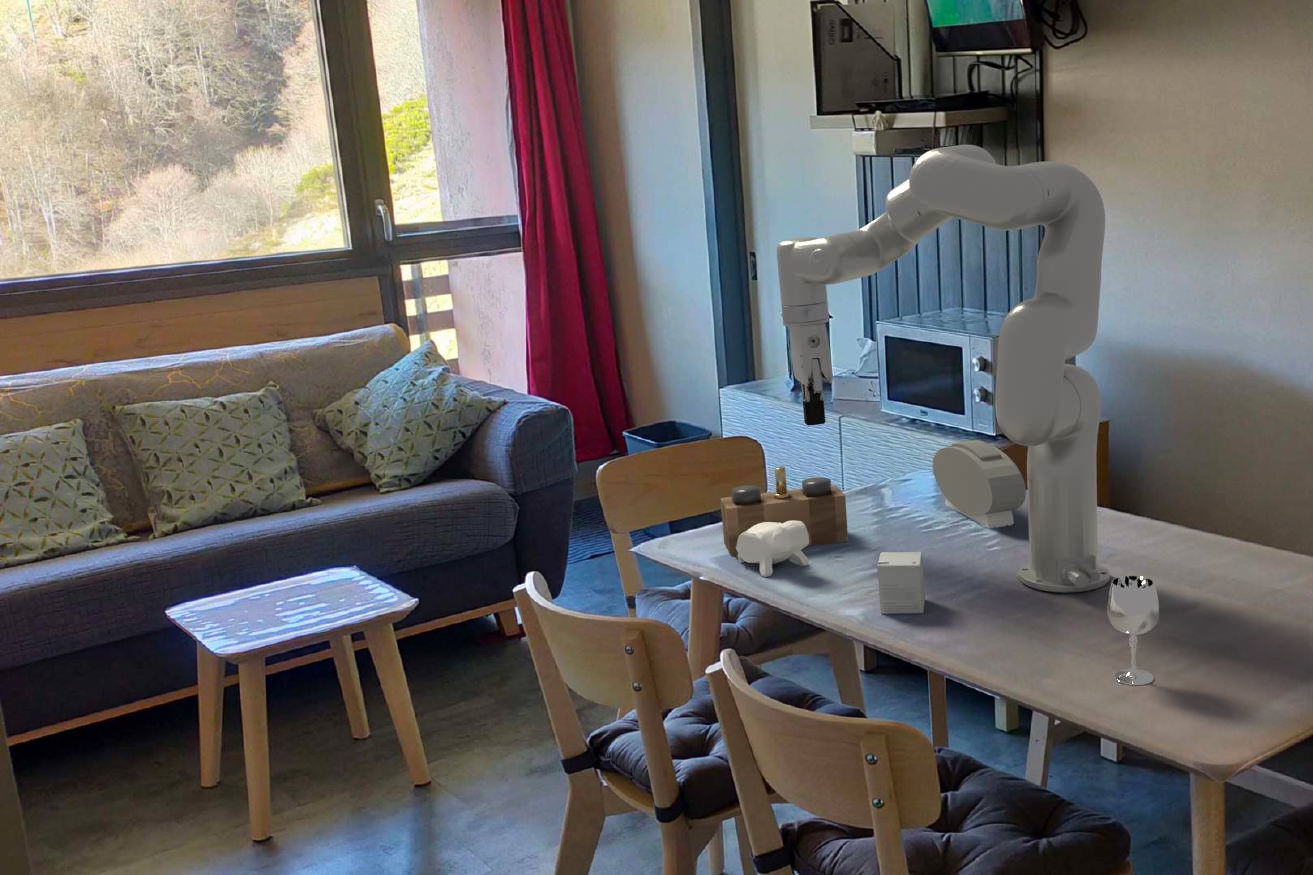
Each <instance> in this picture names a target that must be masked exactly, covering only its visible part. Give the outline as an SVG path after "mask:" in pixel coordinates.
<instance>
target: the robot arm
mask: <svg viewBox="0 0 1313 875" xmlns="http://www.w3.org/2000/svg"><path fill="white" fill-rule="evenodd" d="M884 207H885V212H884V213H883V214H881V215H880V216H879V217H877V218H876V219H874V220H873V221H871V222H869V223H868V224H866V225H865V226H863V227H861V228H860V229H858V230H854V231H847V232H842V233H837V234H833V235H829V236H824V237H819V238H818V237H814V236H813V237H812V236H811V237H810V236H809V237H808V236H806V237H795V238H789V239H786V240H782V241H780V242H779V243H778V245H777V246H776V260H777V272H778V273H777V274H778V280H779V281H778V284H779V295H780V303H781V316H782V325H783V326H785V327H789V338H790V339H789V340H790V354H791V362H792V371H793V372H792V373H793V376H794V378H795V380H797V381H798V382H800V386H801V393H802V407H803V419H804V421H803V422H804V424H805V425H806V426H808V427H810V426H811V427H812V426H817V425H824V424H825V423H826V412H825V403H824V401H825V400H824V391H823V390H824V389H823V387H824V386H823V381H824V382H826V383H829V384H831V383H833V380H834V375H833V367H832V358H831V349H830V343H829V336H828V331H827V326H826V323H828V322H830V315H829V314H830V313H829V303H828V293H827V292H828V291H827V285H836V284H840V283H845V282H848V281H852V280H856V279H861V278H865V277H870V276H871V275H873V274H876V273H878V272H879V271H881V270H883V269H885V268H886V267H888V266H890V265H891V264H893V263H895V261H897V260H899V259H901V258H902V257H903V256H905V255H906V254H908V253H909V252H910V251H911V250H913V249H914V247H916V246H917V244H918V243H920V241H921V240H922V239H923V238H924V237H926V236H927V235H928V234H930V233H932V232H933V231H935V230H937V229H938V228H940V227H942V226H943V225H945V224H947V223H948V222H950V221H951V220H953V219H957V220H962V221H965V222H970V223H971V224H972V223H973V224H976V225H979V226H983V227H986V228H990V229H995V230H998V231H1017V230H1023V229H1027V228H1032V227H1036V226H1039V225H1042V226H1043V228H1044V235H1043V236H1044V237H1043V239H1042V243H1041V246H1040V249H1039V252H1038V256H1037V263H1036V280H1035V281H1036V282H1035V290H1034V293H1033V294H1034V295H1033V297H1031V298H1028V299H1026V300H1024V301H1021V302H1019V303H1018V304H1016V305H1015V306H1014V307H1012V309H1010V310H1009V312H1008V313H1007V314H1006V317H1005V318H1004V320H1003V322H1002V325H1001V328H1000V330H999V336H998V345H997V358H996V359H997V363H996V380H995V398H994V399H995V401H994V403H995V404H994V405H995V407H994V409H995V416H996V419H997V420H996V421H997V423H998V425H999V427H1000V429H1001V432H1003V434H1004V435H1005V436H1006V437H1007V439H1009V440H1010V441H1012V443H1015V444H1017V445H1020V446H1022V447H1023V446H1024V447H1028V448H1027V455H1026V456H1027V457H1026V458H1027V459H1026V473H1027V474H1026V484H1027V485H1026V486H1027V489H1026V491H1027V512H1028V514H1027V517H1028V518H1027V519H1028V520H1027V521H1028V543H1029V545H1028V547H1029V548H1028V549H1029V562H1028V563H1025V564H1024V565H1023V566H1021V567H1020V568H1019V572H1018V578H1019V580H1020V582H1021V583H1023V584H1024V585H1025V586H1027V587H1029V588H1032V589H1034V590H1039V591H1045V592H1052V593H1080V592H1081V593H1082V592H1086V591H1087V592H1088V591H1091V590H1095V589H1098V588H1101V587H1103V586H1105V585H1106V584H1107V583H1109V581H1110V578H1111V577H1110V571H1109V568H1107V567H1106V566H1105V565H1103V564H1101V563H1099V552H1098V551H1099V549H1098V548H1099V546H1098V545H1099V544H1098V543H1099V542H1098V541H1099V539H1098V538H1099V537H1098V536H1099V535H1098V498H1097V497H1098V491H1097V489H1098V488H1097V487H1098V484H1097V483H1098V482H1097V476H1098V475H1097V473H1098V472H1097V448H1098V434H1099V428H1100V427H1099V426H1100V421H1101V420H1100V419H1101V413H1102V411H1101V410H1102V396H1101V390H1100V386H1099V385H1098V382H1097V381H1096V379H1095V378H1094V377H1093V376H1092V375H1091V373H1090V372H1088V371H1087V370H1086V369H1085V368H1083V367H1080V366H1079V365H1075V364H1069V363H1066V361H1067V360H1069V359H1071V358H1073V357H1076V356H1078V355H1080V354H1083V353H1084V352H1086V351H1087V350H1088V349H1089V348H1091V346H1092V345H1093V343H1094V342H1095V340H1096V337H1097V334H1098V327H1099V326H1098V325H1099V312H1100V311H1099V309H1100V298H1101V297H1100V296H1101V283H1102V263H1103V262H1102V261H1103V253H1104V252H1103V251H1104V242H1105V240H1104V239H1105V233H1106V232H1105V231H1106V213H1105V205H1104V202H1103V198H1102V196H1101V193H1100V191H1099V189H1098V187H1097V186H1096V184H1095V183H1094V182H1093V181H1092V180H1091V178H1090V177H1089V176H1088V175H1086V174H1085V173H1084V172H1082V171H1081V170H1080V169H1077V168H1076V167H1074V166H1072V165H1070V164H1067V163H1064V162H1059V161H1037V162H1030V163H1026V164H1018V165H1013V166H1012V165H1011V166H1009V165H1008V166H1007V165H1003V164H998V163H996V161H995V158H994V157H993V156H992V154H990V152H989V151H987V150H986V149H985V148H982V147H980V146H978V145H973V144H960V145H952V146H943V147H936V148H933V149H930V150H928V151H926V152H925V153H923V154H922V155H920V156H919V158H918V159H917V160H916V161H915V162H914V163H913V166H912V167H911V170H910V173H909V178H908V179H906V180H905V181H904V182H902V183H900V184H898V185H897V186H896V187H894V188H892V189H891V190H890V191H889V192H888V193H887V195H886V198H885V202H884Z"/></svg>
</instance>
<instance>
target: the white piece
mask: <svg viewBox="0 0 1313 875" xmlns="http://www.w3.org/2000/svg"><path fill="white" fill-rule="evenodd" d="M808 544H809V535H808V532H807V528H806V526H805V525H804V523H803V522H801V521H794V520H792V521H787V522H785V523H783V524H782V523H780V522H779V523H776V522H763V523H759V524H756V525H754V526H753V527H751V528H750V529H748V530H747V531H746V532H743V533H741V534H740V535H739V537H738V542H737V547H736V550H737V551H738V554H737V559H738V561H739V563H740V564H743V563H745V562H747V563H750V564H755V563H756V564H759V572H760V576H762V577H763V576H764V577H763V578H768V577H771V576H772V575H773V572H774V570H773V565H775V564H778V563H781V562H784V561H785V560H787V559H788V558H789V559H791V560H793V561H795V562H796V563H797V564H798V566H801V565H803V566H802V567H804V566H805V567H806V566H809V564H810V561H809V559H808V557H807V556H806V555H805V554H804V552H803V551H802V549H804V548H806V547H808V546H807V545H808Z"/></svg>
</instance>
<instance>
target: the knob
mask: <svg viewBox="0 0 1313 875" xmlns="http://www.w3.org/2000/svg"><path fill="white" fill-rule="evenodd" d="M831 485H832V481H831V479H830V478H827V477H818V476H817V477H811V478H810V477H809V478H805V479H803V480H802V481H801V486H802V488H801V489H802V490H803V495H805V496H807V497H817V496H825V495H828V494H830V493H831Z"/></svg>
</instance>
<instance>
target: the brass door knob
mask: <svg viewBox="0 0 1313 875" xmlns="http://www.w3.org/2000/svg"><path fill="white" fill-rule="evenodd" d="M774 478H775V481H774V482H775V491H773V492H774V493H773V498H775V499H786V498H790V497H791V492H789V491H787V490H788V487H787V486H788V485H787V473H786V467H785V466H776V467H774Z"/></svg>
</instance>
